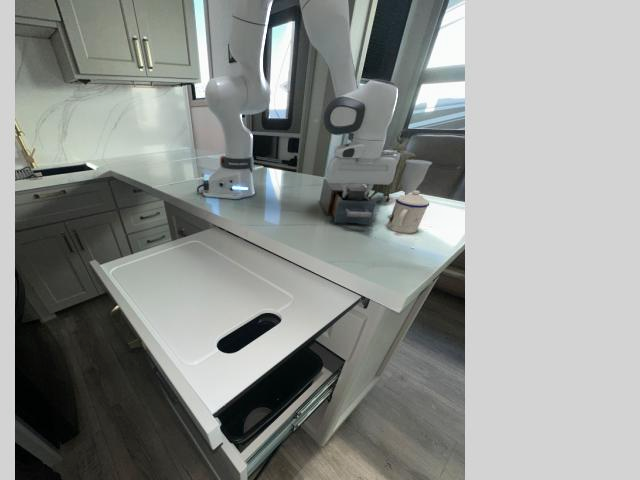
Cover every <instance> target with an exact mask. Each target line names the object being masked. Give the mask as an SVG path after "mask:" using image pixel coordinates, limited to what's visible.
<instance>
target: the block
mask: <svg viewBox="0 0 640 480" xmlns="http://www.w3.org/2000/svg"><path fill="white" fill-rule="evenodd" d="M347 191H348V192H349V195H348V198H345V199H344V200H349V201H362V200H363V196H364V193H365V191H364V190H363V189H362V188H358V187H347Z"/></svg>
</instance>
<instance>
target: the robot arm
mask: <svg viewBox="0 0 640 480" xmlns="http://www.w3.org/2000/svg"><path fill="white" fill-rule="evenodd" d="M273 2H274V0H233V5H232V13H231V15H232V16H231V23H230V32H229V42H228V49H229V52H230V55H231V57H232V58H233V59H234V61H236V62H237V63H238V69H239V73H238V75H236V76H235V75H220V76H216V77H213V78H210V79H209V80H208V82H207V83H206V85H205V89H204V98H205V99H204V100H205V104H206V106H207V108H208V110H209V111H210V112H211V114H213V115H214V116H215V117H216V119H217V120H218V122H219V124H220V127H221V130H222V134H223V142H224V155H221V156H220V158H219V165H220V166H219V167H218V168H217V169H216V170H215V171H214V172H213V173H212V174H210V176H209V177H208V179H205V180H202V181H203V182H202V184H199V185H198V186H197V188H196V193H197V194H199V193H200V192H199V191H200V188H202V187H203V190H202V195H203V196H204V197H207V198H218V199H231V200H240V199H241V200H242V199H243V198H247V197H252V196H253V195H255V194H256V190H255V188H254V179H253V171H254V156H253V150H254V149H253V147H254V136H253V133H252V131H251V130H250V129H249V128H247V127H246V126H245V124H244V122H243V115H244V116H245V115H246V116H247V115H256V114H259V113H263V112H265V111H266V110H267V109H268V108H269V106H270V103H271V100H272V92H271V86H270V84H269V83H268V81H267V79H266V77H265V73H264V66H263V65H264V64H263V63H264V62H263V59H264V49H265V43H266V36H267V30H268V24H269V20H270V13H271V8H272V5H273ZM298 2H299V7H300V11H301V16H302V22H303V25H304V29H305V32H306V34H307V37H308V40H309V42H310V45H312V47H313V48H314V49H316V51H317V52H318V53H319V54H320V55H321V57H322V58H323V59H324V61H325V62H326V64H327V66H328V69H329V73H330V76H331V77H330V78H331V82H332V86H333V90H334V96H335V98H334V99H332V100H331V101H330V102H329V103H328V104H327V106H326V108H325V110H324V113H323V125H324V128H325V130H326V131H327V132H328V133H329V134H331V135H334V136H344V135H349V134H353V138H352V141H350V142H347V143H344V144H340V145H337V146H335V148H334V150H333V153H334V155H333V156H332V157H331V158H330V160H329V162H328V166H327V169H326V173H325V179H326V180H327V182H328V183H342V184H341V186H342V189H343V195H342V197H343V198H348V195H349V192H348V191H346V188H345V187H347V185H348V184H362V185H365V187H366V189H365V190H364V191H365V193H364V196H363V198H366V196H367V193H368V192H369V191H370V192H371V191H372V190H371V189H372V188H373V185H374V184H384V185H389V184H390V183H391V182H392V181H393V179H394V175H395V171H396V165H397V164H398V162H399V159H400V154H399V153H398V152H397V151H394V150H393V151H388V150H389V149H386V150H385V149H384V147H385V144H386V139H387V132H388V128H389V126H390V124H391V122H392V119H393V116H394V112H395V109H396V105H397V101H398V94H399V93H398V91H399V90H398V86H397V85H396V84H395V83H394V82H392V81H389V80H384V79H380V78H372V79H370V80H368V81H367V82H366V83H364V84H363V85H361V86H359V87H358V82H357V76H356V70H355V65H354V60H353V54H352V46H351V44H352V43H351V29H350V27H351V26H350V7H349V0H299V1H298ZM388 154H390V155H388ZM396 154H398V155H396ZM370 192H369V193H370Z"/></svg>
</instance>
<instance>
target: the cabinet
mask: <svg viewBox="0 0 640 480" xmlns="http://www.w3.org/2000/svg"><path fill="white" fill-rule="evenodd" d="M341 184H342V183H328V182H327V180H326V178H323V181H322V185H321V186H322V187H321V190H320V191H321V192H320V197H319V202H320V205H321V206H322V208H323V210H324V212H325V214H326V215H327V216H334V215H333V214H332V212H331V210H330V209H331V204H332V200H333V195H334V193H343V189H342V186H341ZM347 187H358V188H362V189H363V190H365V189H366V188H367V186H366V185H365V184H348V185H347ZM347 187H345V188H346V191H347ZM370 193H371V190H370V191H369V192H368V193H367V197H369V196H370Z"/></svg>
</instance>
